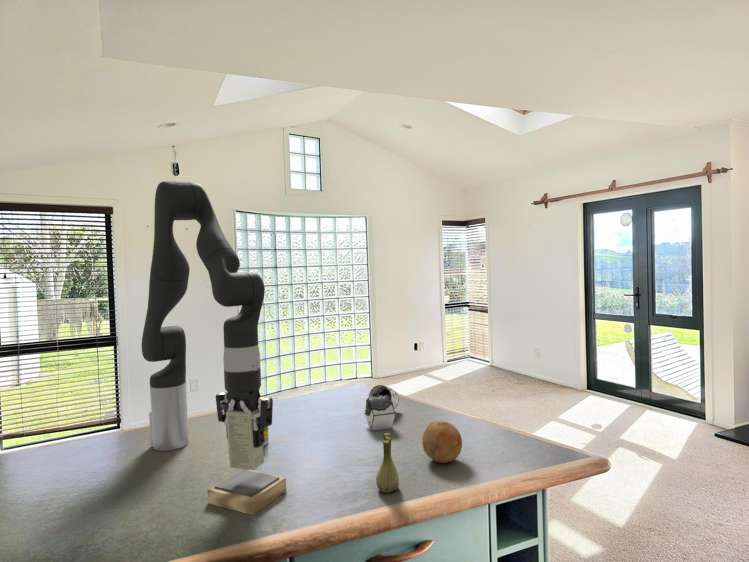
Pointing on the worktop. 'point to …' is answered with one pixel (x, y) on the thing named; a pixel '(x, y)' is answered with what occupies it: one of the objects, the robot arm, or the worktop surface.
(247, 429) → the skincare box
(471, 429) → the worktop surface
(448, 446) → the onion
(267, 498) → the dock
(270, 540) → the worktop surface
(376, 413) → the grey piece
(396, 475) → the fennel bulb
